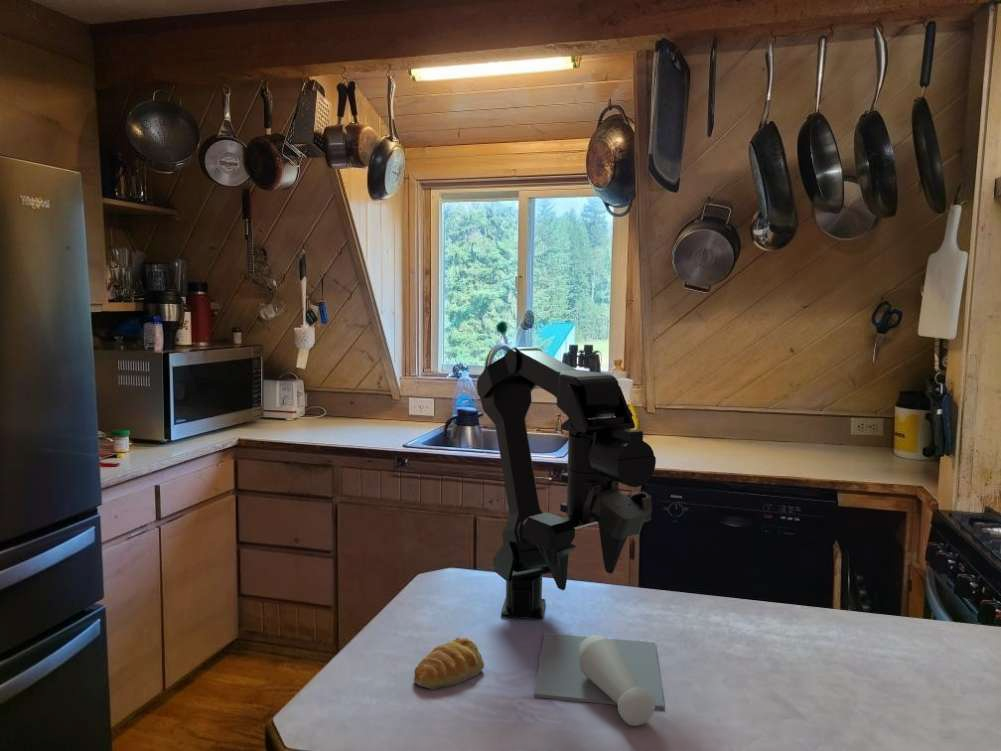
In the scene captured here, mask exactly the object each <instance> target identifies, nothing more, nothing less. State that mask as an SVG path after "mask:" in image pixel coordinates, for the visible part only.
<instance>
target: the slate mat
mask: <svg viewBox="0 0 1001 751" xmlns="http://www.w3.org/2000/svg"><path fill="white" fill-rule="evenodd" d="M587 637H588V636H580V635H571V634H570V635H568V634H557V633H546V632H545V633H544V634H543V640H542V644H541V645H542V647H541V653H540V658H539V661H538V662H539V663H538V669H537V674H536V680H535V685H534V686H535V687H534V692H533V698H535V697H536V698H544V699H554V700H565V701H572V702H574V701H575V702H584V703H585V702H586V703H595V704H606V705H614V706H615V705H617V706H618V704H617V703H616V702H615V701H614V700H612V699H611V698H610V697H609V696H608V695H607V694H606V693H605V692H603V691H602V690H601V689H600V688H599V687H598V686H596V685H595V684H594V683H593V682H592V681H591V680H589V679H588V678H587V677H586V676H585V675H584V674H583V672H582V671H581V669H580V665H579V657H578V654H579V646H580V643H581V642H582V641H584V640H585V639H586V638H587ZM611 639H612V640H614V641H615V642H616V644H617V645H618V646H619V648H620V650H621V652H622V654H623V656H624V658H625V660H626V663H627V665H628V667H629V669H630V671H631V673H632V675H633V677H634V680H635V682H636V684H637V686H638V687H641V688H644V689H646V690H647V691H648V692H649V694H650V695H651V696H652V698H653V700H654V702H655V710H656V709H657V710H665V703H664V695H663V688H662V682H661V674H660V667H659V660H658V659H659V658H658V653H657V645H656V642H653V641H640V640H631V639H630V640H629V639H628V640H627V639H620V638H619V639H618V638H611Z"/></svg>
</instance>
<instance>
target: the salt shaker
mask: <svg viewBox="0 0 1001 751" xmlns="http://www.w3.org/2000/svg"><path fill="white" fill-rule="evenodd" d="M586 637H587V638H586V639H585V640H584V641H582V642H581V643H580V646H579V654H578V657H579V665H580V669H581V671H582V672H583V674H584V675H585V676H586V677H587V678H588V679H589V680H591V681H592V682H593V683H594V684H595V685H596V686H598V687H599V688H600V689H601V690H602V691H603V692H605V693H606V694H607V695H608V696H609V697H610V698H611V699H612V700H614V701H615V702H616V703H617V704H618V705H617V712H618V714H619V716H620V717H621V718H622V719H623V721H624V722H625V723H626V724H627V725H628V726H632V727H637V726H643V725H644V724H645V723H647V722H648V721H649V720H650V719H651V717H653V715H654V711H655V710H656V708H655V702H654V700H653V698H652V696H651V695H650V694H649V692H648V691H647V690H646V689H644V688H641V687H638V686H637V684H636V682H635V680H634V677H633V675H632V673H631V671H630V669H629V667H628V665H627V663H626V660H625V658H624V656H623V654H622V652H621V650H620V648H619V646H618V645H617V644H616V642H615V641H614V640H612V639H613V638H610V637H606V636H603V635H597V634H590V635H589V634H588V636H586Z"/></svg>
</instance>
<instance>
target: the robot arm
mask: <svg viewBox="0 0 1001 751" xmlns="http://www.w3.org/2000/svg"><path fill="white" fill-rule="evenodd" d="M536 387H539V388H541V389H542V390H544V391H546V392H548V393H549V394H551V395H552V396H554V397H555V399H556V407H557V408H558V409H559V410H560V411H561V412H562V413H563V414H564V415H566V417H567V420H564V421H563V423H562V424H561V425H560V429H561V430H562V431H565V432H568V434H567V436H568V438H567V440H568V442H567V443H568V444H567V445H568V446H567V472H565V473H560V474H561V475H560V482H561V483H565V484H566V488H567V489H566V495H567V496H566V501H565V502H563V503H560V506H559V507H560V509H559V511H560V512H562V513H565V514H566V516H564V517H563V516H558V515H556V514H554V513H550V512H548V511H547V512H543V511H542V509H541V506H540V501H539V495H538V494H539V493H538V488H537V481H536V477H535V472H534V465H533V459H532V453H531V447H530V442H529V436H528V435H529V434H528V430H527V423H526V418H527V414H528V412H529V410H530V407H531V406H532V405H531V404H532V402H533V400H532V399H533V398H532V391H534V389H535V388H536ZM476 391H477V394H478V396H479V399H480V403H481V407H482V410H483V412H484V413H485V414H486V415H487V417H488V418H489V419H490V420H491V422H492V423H493V424H494V425H495V426H494V427H495V431H496V436H497V437H496V438H497V445H498V452H499V457H500V463H501V469H502V474H503V482H504V488H505V495H506V499H507V500H506V502H507V507H508V517H507V520H506V522H505V525H504V527H503V530H502V533H501V535H502V546H501V547H500V548H499V550H498V551H497V552H496V554H495V555H494V556H493V558H492V560H493V561H492V562H493V563H492V564H493V569H494V572H495V573H496V574H497V575H498V576H499V577H501V578H502V579H503V580H504V581H506V582H505V583H506V584H505V599H504V602H503V605H502V607H501V611H500V616H501V617H506V618H507V617H508V618H519V619H520V618H521V619H531V620H532V619H533V620H534V619H535V620H542V619H543V617H544V612H545V608H546V607H545V606H546V599H545V598H542V597H543V595H542V594H543V575H548V574H551V575H552V578H553V580H554V582H555V585H556V586H557V588H558V589H559V590H561V591H565V590H566V587H567V582H568V569H569V568H568V567H569V566H568V565H569V554H570V553H572V551H573V550H574V549H575V548H576V547H577V546H576V545H575V544H573V543H572V542H573V541H574V539H575V537H576V531H578V530H581V529H584V528H588V527H591V526H595V525H598V530H599V538H600V546H601V554H602V561H603V565H604V569H605V570H604V571H605V572H606V573H607V574H609V575H610V574H611V575H612V574H613V573H615V572H614V571H615V568H616V566H617V563H618V561H619V559H620V555H621V553H622V551H623V548H624V545H625V543H626V541H627V539H628V537H630V536H633V535H635V536H637V535H639V534H640V532H641V529H642V527H643V525H644V524H645V523H648V522H649V521H651V520H652V511H653V501H652V495H650V494H648V493H647V492H646V491H640V492H636V493H634V494H633V495H632V496H631V494H630V493H627V494H626V493H625V494H624V493H622V492H621V491H620V489H619V487H620V486H619V483H620V484H622V485H625V486H627V487H631V488H639V487H640V486H643V485H644V484H646V483H647V482H648V481H649V480H650V479H651V478H652V476H653V475H654V472H655V469H656V463H657V457H656V456H655V452H654V450H653V448H652V446H651V445H649V443H647V442H646V441H644V432H643V431H642V430H640V429H635V427H636V424H635V421H634V418H633V416H634V415H633V413H632V411H631V409H630V408H629V405H628V404H627V401H626V398H625V395H624V393H623V390H622V388H621V386H620V384H619V381H618V379H617V378H616V377H615V376H614V375H612V374H608V373H604V372H597V371H589V370H588V371H586V370H578V369H576V368H574V367H572V366H570V365H568V364H566V363H564V362H563V361H560V360H558V359H557V358H554V357H553V356H551V355H549V354H547V353H545V352H544V351H543V350H542V349H541V348H539V347H536V346H524V347H523V346H521V347H520V346H518V347H517V346H516V347H512V348H510V349H509V350H507V352H506V353H505V354H504V356H502V357H500V358H498V359H497V360H495V361H494V362H492V363H490V364H488V365H487V366H486V367H485V368H484V370H483V371H482V373H480V375H479V376H478V377H477V381H476Z"/></svg>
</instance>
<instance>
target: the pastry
mask: <svg viewBox="0 0 1001 751" xmlns="http://www.w3.org/2000/svg"><path fill="white" fill-rule="evenodd" d="M478 649H479V648H478V646H477V644H475V642H474V641H473V640H471V639H470V638H467V637H463V638H461V637H456V638H455V639H452V641H449V642H447V643H443V644H440V645H439V644H438V645H437V646H436V647H434V648H433V649H432V651H430V652H429V653H427V655H426V656H425V657H424V658H422V660H421V661H420V662H419V663H418V664H417V666H416V667H415V668H414V677H413V678H414V679H413V681H414V683H416V685H417V686H420V687H423V688H426V689H429V690H430V689H431V690H436V689H439V688H443V687H448V686H454V685H455V686H456V685H458V684H459V683H462V682H464V681H466V680H468V679H471V678H473V677H475V676H476V675H478V674H480V673H481V672H482V671H483V669H484V667H485V662H484V660H483V657H482V654H481V653H480V652H479V650H478Z"/></svg>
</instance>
